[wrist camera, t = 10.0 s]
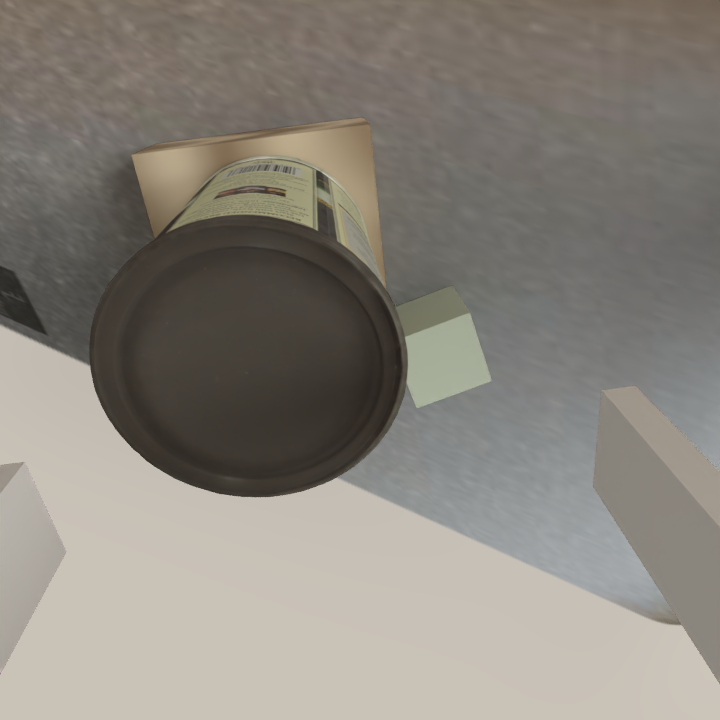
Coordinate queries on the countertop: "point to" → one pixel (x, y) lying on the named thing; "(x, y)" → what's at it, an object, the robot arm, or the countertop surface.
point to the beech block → (306, 142)
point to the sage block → (441, 347)
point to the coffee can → (253, 336)
